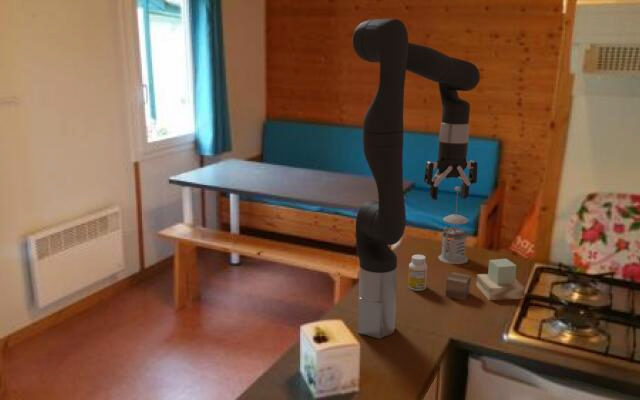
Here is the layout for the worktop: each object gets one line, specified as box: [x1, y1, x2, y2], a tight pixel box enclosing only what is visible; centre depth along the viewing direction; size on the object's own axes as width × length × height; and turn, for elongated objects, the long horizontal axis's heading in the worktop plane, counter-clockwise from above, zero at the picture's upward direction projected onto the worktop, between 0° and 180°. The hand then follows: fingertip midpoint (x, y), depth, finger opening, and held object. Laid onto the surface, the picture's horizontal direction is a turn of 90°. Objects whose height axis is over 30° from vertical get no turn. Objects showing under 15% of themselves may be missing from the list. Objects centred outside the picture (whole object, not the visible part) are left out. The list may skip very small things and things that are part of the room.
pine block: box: [475, 273, 525, 301], centre depth 166 cm, size 10×10×4 cm
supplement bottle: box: [407, 254, 428, 292], centre depth 168 cm, size 5×5×10 cm
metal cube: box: [445, 271, 472, 301], centre depth 164 cm, size 6×6×6 cm
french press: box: [438, 186, 469, 265], centre depth 187 cm, size 10×12×25 cm
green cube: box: [487, 258, 517, 285], centre depth 164 cm, size 6×6×6 cm
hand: (449, 198), depth 155 cm, fingers open, 8 cm apart
